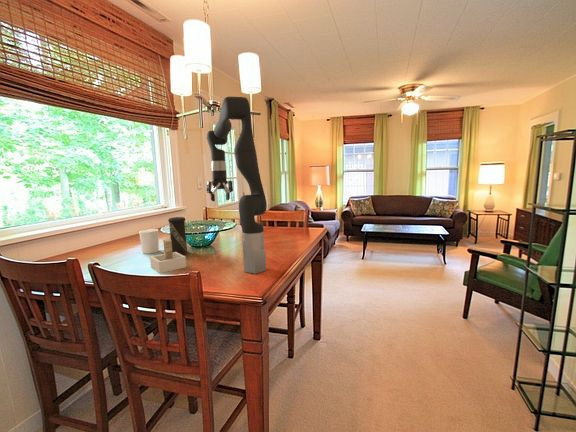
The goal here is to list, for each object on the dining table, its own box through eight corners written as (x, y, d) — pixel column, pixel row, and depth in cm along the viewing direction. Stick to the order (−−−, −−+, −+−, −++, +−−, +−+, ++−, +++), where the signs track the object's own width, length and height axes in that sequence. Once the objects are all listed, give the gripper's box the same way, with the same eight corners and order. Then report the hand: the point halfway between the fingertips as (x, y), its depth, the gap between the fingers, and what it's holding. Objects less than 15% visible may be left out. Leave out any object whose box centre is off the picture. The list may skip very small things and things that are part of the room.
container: (169, 256, 157) (166, 218, 154) (171, 252, 166) (168, 216, 163) (187, 255, 159) (184, 217, 157) (188, 250, 168) (185, 215, 165)
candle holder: (155, 253, 163) (153, 232, 161) (137, 254, 163) (135, 232, 162) (163, 249, 173) (161, 228, 171) (146, 249, 173) (144, 229, 171)
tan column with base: (178, 265, 138) (176, 239, 136) (165, 268, 134) (163, 242, 132) (173, 262, 143) (171, 237, 141) (160, 265, 139) (158, 240, 137)
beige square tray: (186, 267, 139) (185, 256, 138) (159, 273, 131) (158, 262, 130) (176, 261, 148) (175, 251, 147) (150, 267, 140) (149, 256, 139)
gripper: (209, 169, 151) (211, 202, 153) (234, 169, 160) (235, 199, 162) (203, 170, 156) (205, 201, 159) (227, 169, 166) (228, 199, 168)
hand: (220, 200), depth 160 cm, fingers open, 8 cm apart
